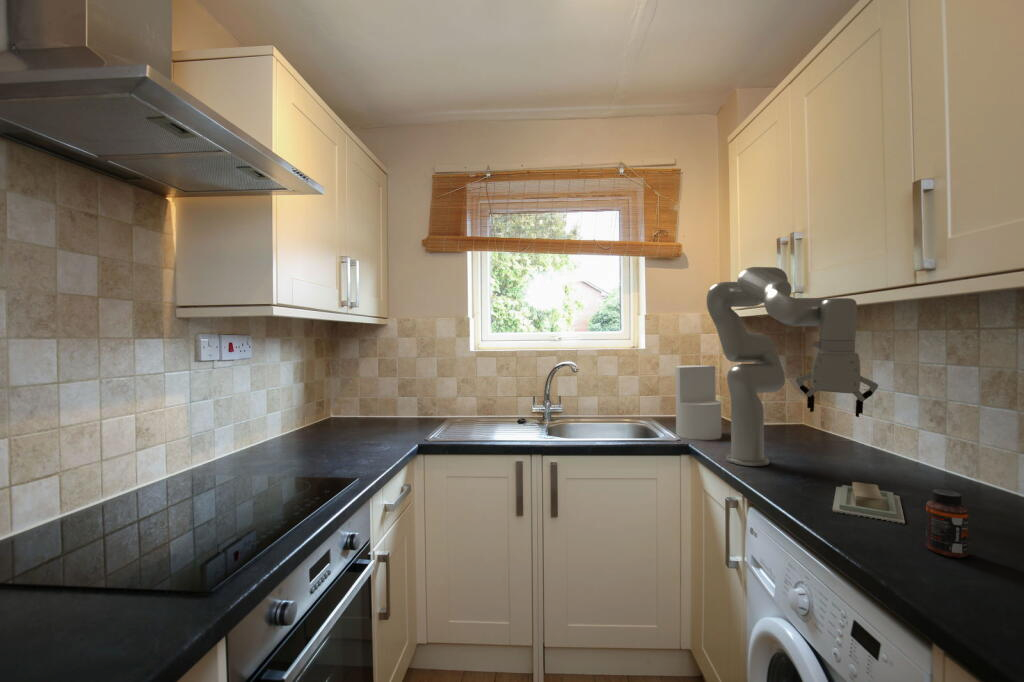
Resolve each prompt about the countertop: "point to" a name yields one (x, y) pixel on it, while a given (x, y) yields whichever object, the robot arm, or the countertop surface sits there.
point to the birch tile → (867, 496)
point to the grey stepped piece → (697, 403)
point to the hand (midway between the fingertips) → (834, 413)
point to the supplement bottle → (947, 524)
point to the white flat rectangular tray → (847, 506)
